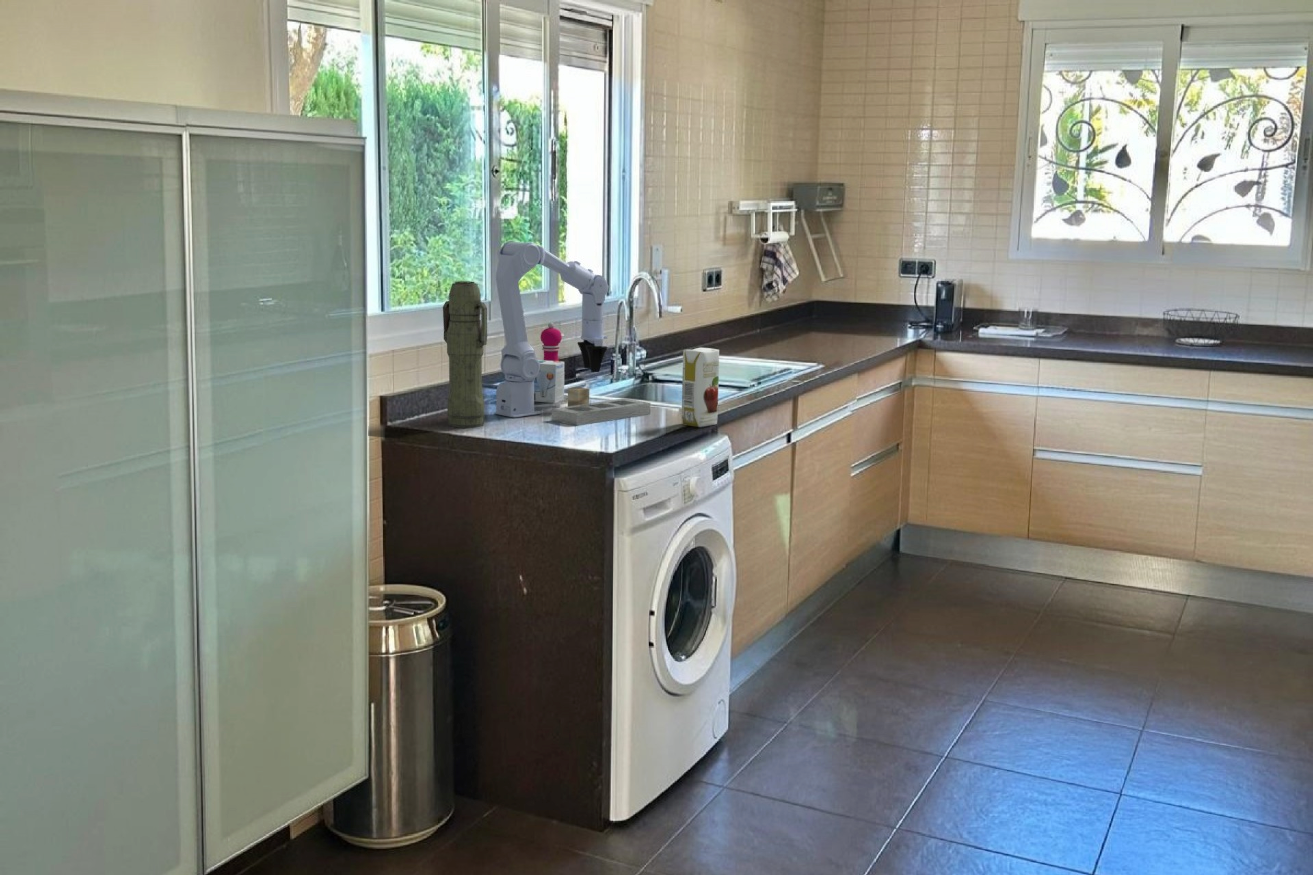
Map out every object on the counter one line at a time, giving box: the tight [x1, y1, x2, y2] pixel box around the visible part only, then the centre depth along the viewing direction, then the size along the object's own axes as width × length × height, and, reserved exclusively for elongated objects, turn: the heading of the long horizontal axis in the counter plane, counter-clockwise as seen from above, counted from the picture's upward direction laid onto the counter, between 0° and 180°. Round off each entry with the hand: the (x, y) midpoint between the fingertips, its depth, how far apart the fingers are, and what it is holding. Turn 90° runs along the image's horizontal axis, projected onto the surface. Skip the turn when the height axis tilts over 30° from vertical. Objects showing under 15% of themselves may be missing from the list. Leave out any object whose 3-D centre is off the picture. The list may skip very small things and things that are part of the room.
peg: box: [567, 386, 590, 406], centre depth 344 cm, size 4×4×6 cm
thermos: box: [442, 280, 488, 429], centre depth 319 cm, size 9×12×35 cm
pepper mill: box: [540, 322, 563, 361], centre depth 373 cm, size 7×7×20 cm
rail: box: [551, 397, 651, 427], centre depth 336 cm, size 26×10×3 cm, turn 136°
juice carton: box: [681, 347, 720, 428], centre depth 327 cm, size 8×9×19 cm
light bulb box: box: [534, 359, 565, 404], centre depth 360 cm, size 11×7×11 cm, turn 73°
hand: (591, 370), depth 352 cm, fingers open, 7 cm apart
